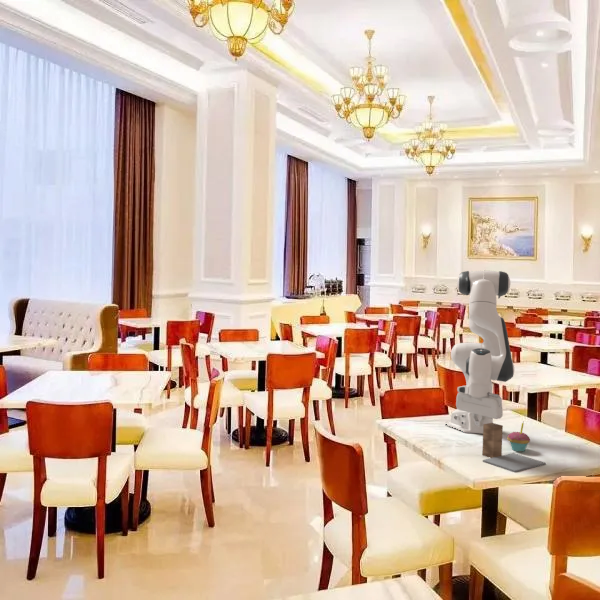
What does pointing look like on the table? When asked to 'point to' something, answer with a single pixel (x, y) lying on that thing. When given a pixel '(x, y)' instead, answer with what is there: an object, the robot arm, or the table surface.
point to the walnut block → (492, 440)
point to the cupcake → (518, 440)
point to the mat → (514, 462)
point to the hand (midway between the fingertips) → (478, 425)
